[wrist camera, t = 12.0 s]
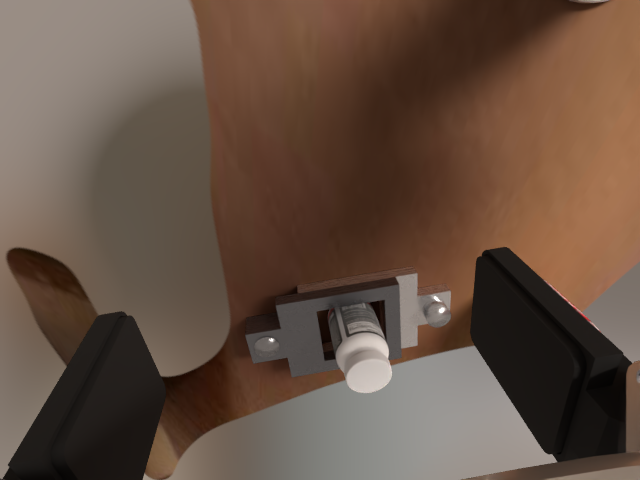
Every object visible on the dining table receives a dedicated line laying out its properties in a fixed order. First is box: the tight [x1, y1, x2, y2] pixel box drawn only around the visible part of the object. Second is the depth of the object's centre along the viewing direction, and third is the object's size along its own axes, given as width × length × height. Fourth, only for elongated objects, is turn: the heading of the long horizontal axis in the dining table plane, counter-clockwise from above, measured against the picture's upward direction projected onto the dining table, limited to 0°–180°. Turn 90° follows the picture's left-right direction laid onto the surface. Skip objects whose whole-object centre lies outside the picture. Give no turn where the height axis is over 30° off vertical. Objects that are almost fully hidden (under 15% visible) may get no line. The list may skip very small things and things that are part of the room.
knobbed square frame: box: [245, 266, 451, 377], centre depth 46 cm, size 24×11×3 cm, turn 97°
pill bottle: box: [328, 302, 392, 393], centre depth 43 cm, size 6×6×10 cm
